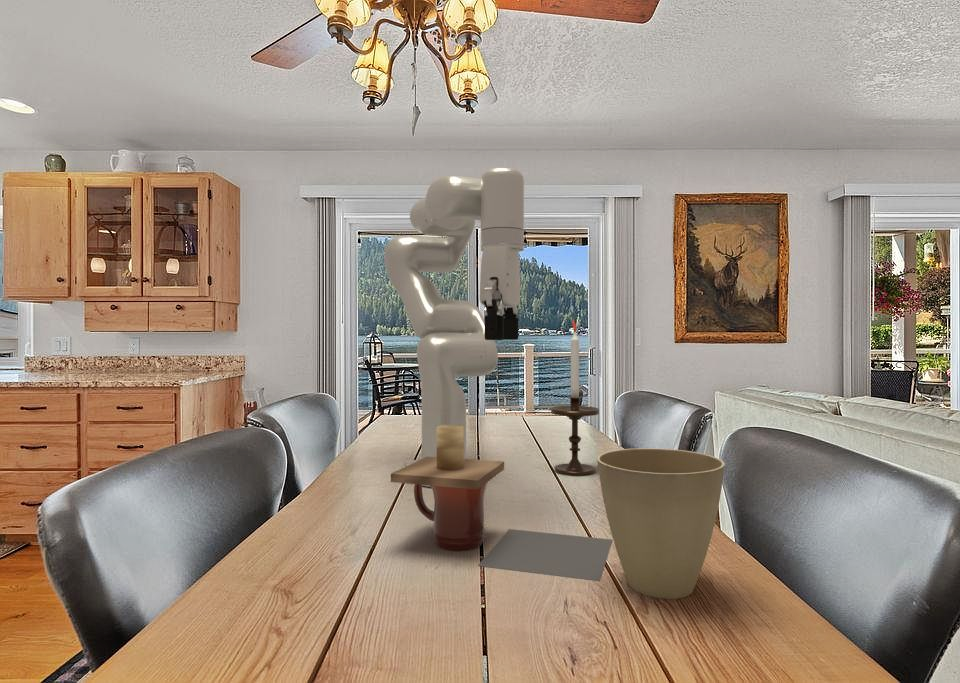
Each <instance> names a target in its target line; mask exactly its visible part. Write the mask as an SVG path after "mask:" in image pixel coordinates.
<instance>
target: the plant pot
mask: <svg viewBox="0 0 960 683" xmlns="http://www.w3.org/2000/svg"><path fill="white" fill-rule="evenodd" d="M596 459H597V460H596V462H597V469H598V475H599V481H600V487H601V494H602V499H603V500H602V501H603V504H604V509H605V512H606V517H607V522H608V524H609V528H610V532H611V537H612V540H613V543H614V546H615V547H614V548H615V549H616V552H617V556H618V559H619V562H620V566H621V568H622V570H623V574H624V575H625V578H626V581H627V583H628V584H627V585H628V586H629V587H630V589H632V590H634V591H635V592H637V593H639V594H641V595H645V596H648V597H650V598H657V599H665V600H667V599H668V600H670V599H671V600H672V599H673V600H676V599H682V598H686V597H688V596H690V595H691V594H693V591H694V590H695V587H696V584H697V581H698V579H699V576H700V574H701V571H702V569H703V566H704V563H705V560H706V557H707V554H708V550H709V547H710V543H711V540H712V536H713V533H714V528H715V524H716V520H717V516H718V510H719V505H720V500H721V494H722V487H723V481H724V474H725V473H724V472H725V461H724V460H722V459H720V458H719V457H715V456H713V455H710V454H706V453H701V452H696V451H690V450H682V449H671V448H658V447H657V448H654V447H653V448H651V447H650V448H649V447H648V448H647V447H646V448H621V449H615V450H610V451H606V452H602V453H601V454H599V455H597V458H596Z"/></svg>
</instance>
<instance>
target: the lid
mask: <svg viewBox="0 0 960 683" xmlns="http://www.w3.org/2000/svg"><path fill="white" fill-rule="evenodd" d="M420 459H421V460H420ZM420 459H417V460H418V461H416V462H414V463H412V464H410V465H408V466H406V467H405V466H404V467H402V468H399V469H398V470H395V471H393V472H391V473H390V483H397V484H409V485H415V484H419V485H431V486H443V487H455V488H467V489H479V488H480V487H482V486H483V485H484V484H486V483H487V482H489V481H491V480H492V479H494V477H496V476H497V475H499V474H500V473H501V472H503V471H504V470H505V461H503V460H502V461H501V460H499V461H497V460H486V459H485V460H484V459H472V458H471V459H470V458H466V459H464V427H463V426H459V425H442V426H437V457H428V456H427V457H425V458H423V459H422V458H420ZM487 484H488V483H487Z"/></svg>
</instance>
